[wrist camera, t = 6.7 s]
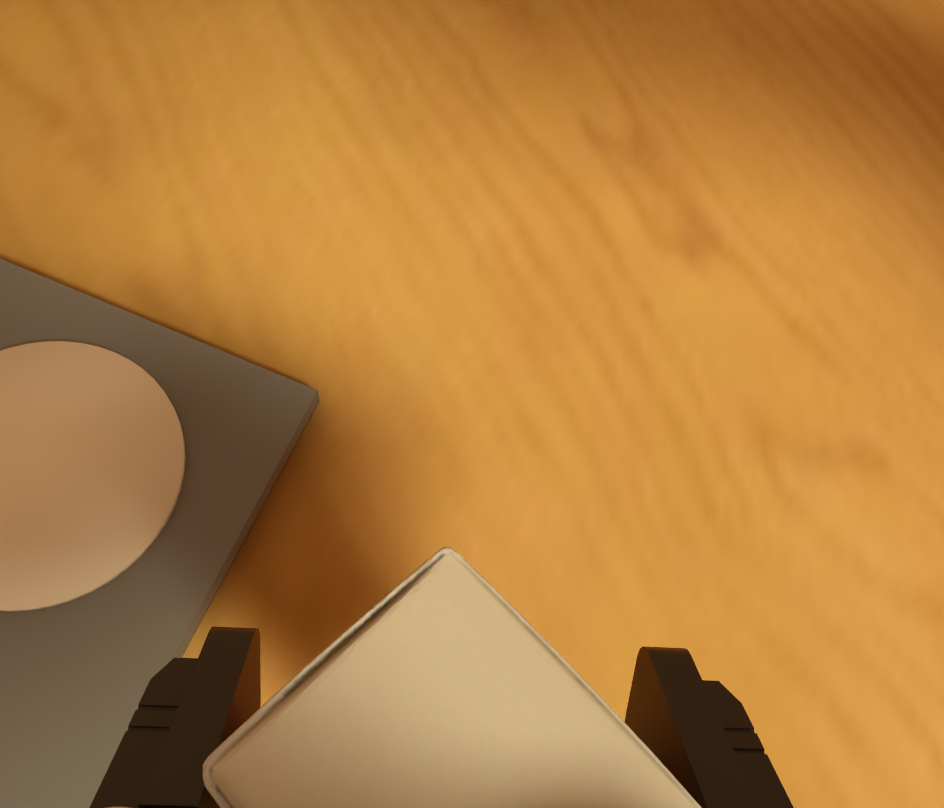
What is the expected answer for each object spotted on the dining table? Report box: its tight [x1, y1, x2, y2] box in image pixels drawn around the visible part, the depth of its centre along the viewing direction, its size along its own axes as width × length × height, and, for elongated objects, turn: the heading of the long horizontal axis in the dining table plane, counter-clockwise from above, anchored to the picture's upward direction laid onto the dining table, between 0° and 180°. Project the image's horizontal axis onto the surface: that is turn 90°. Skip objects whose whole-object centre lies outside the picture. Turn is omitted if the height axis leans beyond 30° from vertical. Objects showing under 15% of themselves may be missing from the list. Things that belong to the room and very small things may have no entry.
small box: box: [203, 547, 702, 808], centre depth 13 cm, size 5×4×8 cm
